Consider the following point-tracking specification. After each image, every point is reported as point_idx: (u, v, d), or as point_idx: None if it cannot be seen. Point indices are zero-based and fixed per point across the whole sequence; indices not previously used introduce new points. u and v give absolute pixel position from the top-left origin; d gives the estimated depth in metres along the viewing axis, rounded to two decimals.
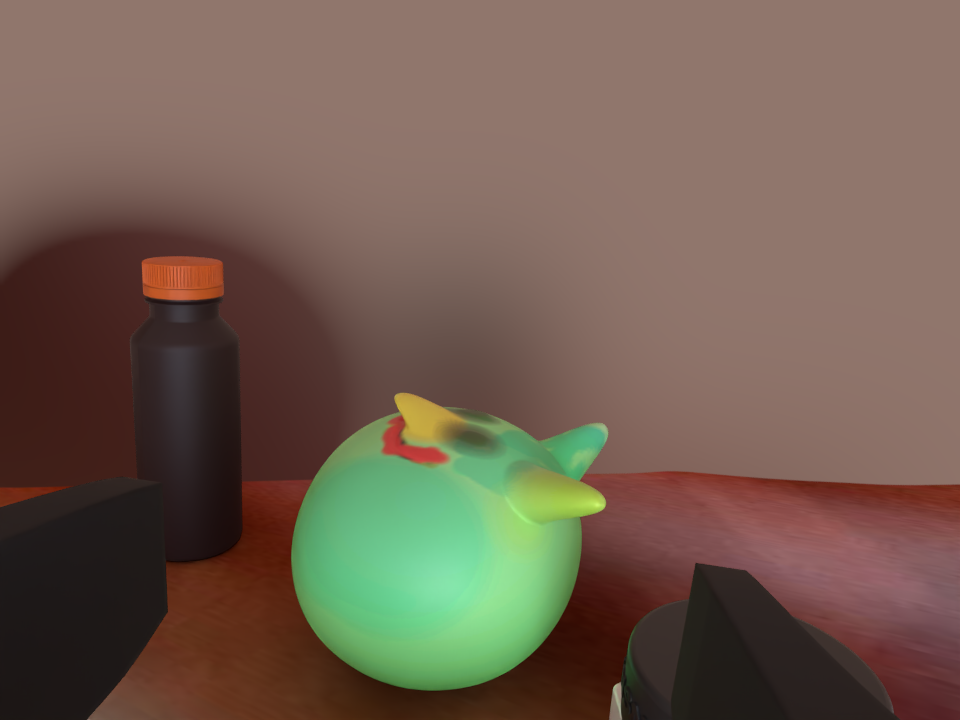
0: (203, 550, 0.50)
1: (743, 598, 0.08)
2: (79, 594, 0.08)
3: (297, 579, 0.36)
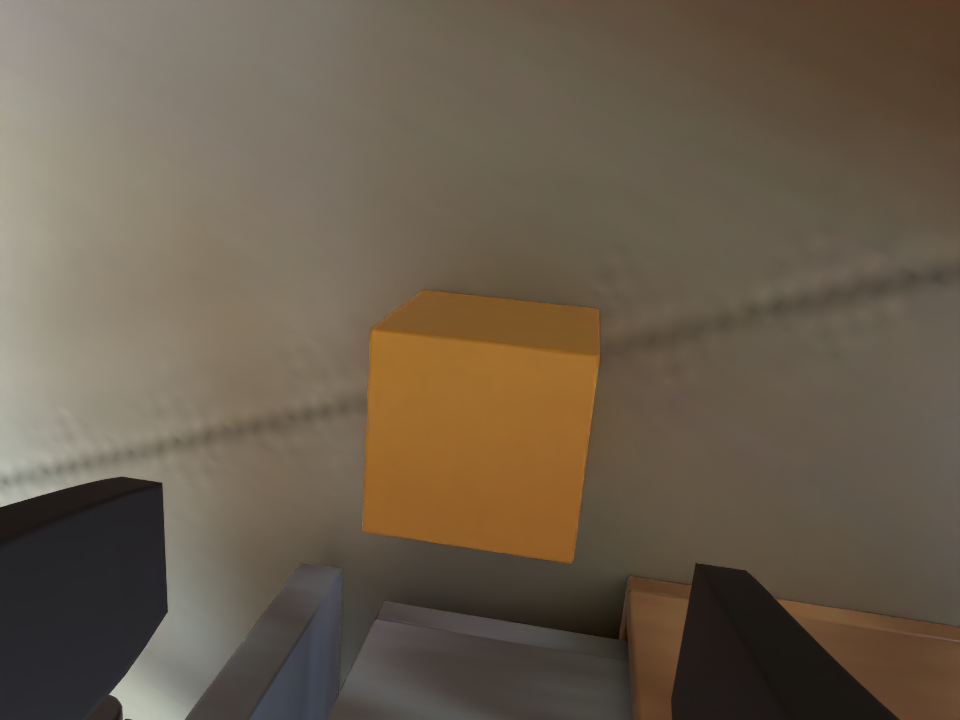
0: None
1: (744, 597, 0.08)
2: (79, 594, 0.08)
3: None
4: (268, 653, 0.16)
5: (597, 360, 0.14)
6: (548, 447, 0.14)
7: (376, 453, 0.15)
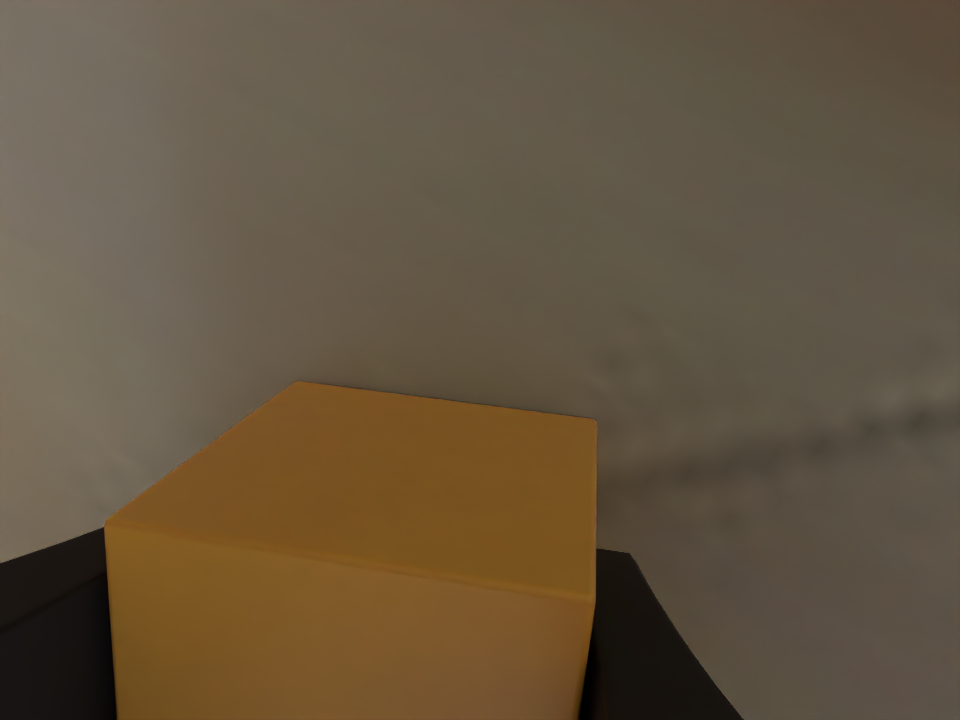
0: None
1: (611, 577, 0.08)
2: None
3: None
4: None
5: (589, 608, 0.06)
6: None
7: None
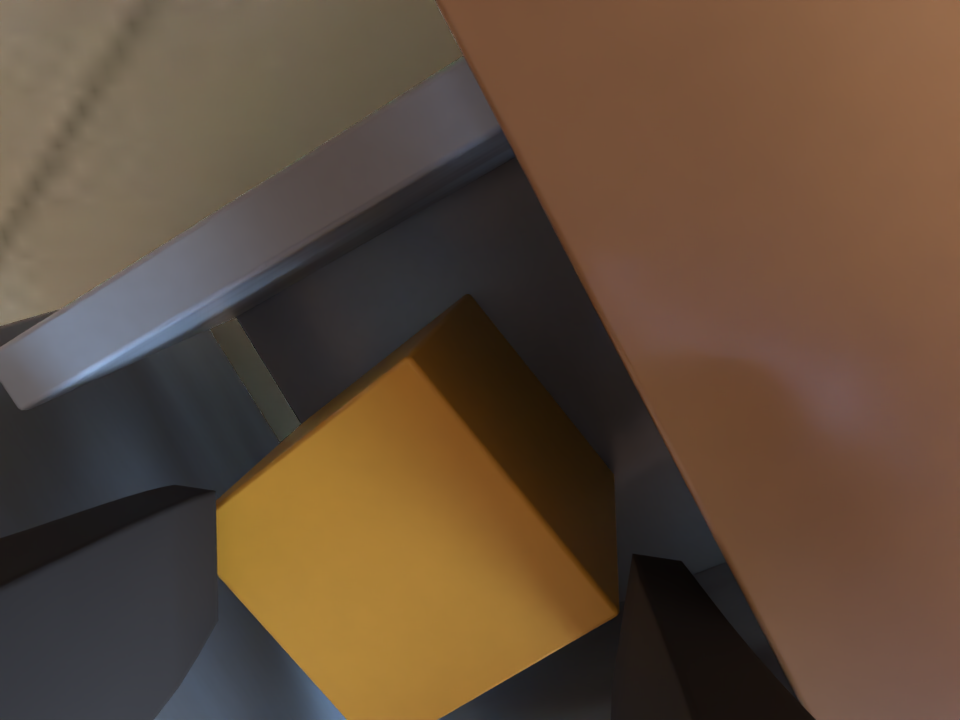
0: None
1: (670, 586, 0.08)
2: (140, 604, 0.08)
3: None
4: None
5: (612, 616, 0.10)
6: (471, 641, 0.10)
7: (278, 479, 0.10)
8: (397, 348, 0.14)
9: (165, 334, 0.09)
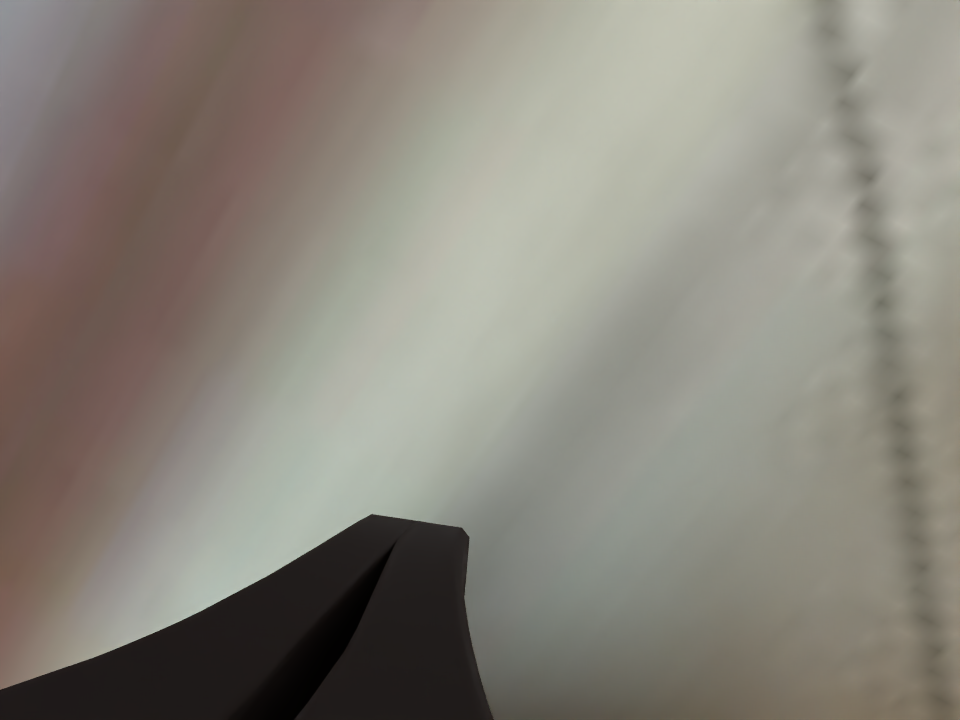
0: None
1: (421, 548, 0.08)
2: None
3: None
4: None
5: None
6: None
7: None
8: None
9: None
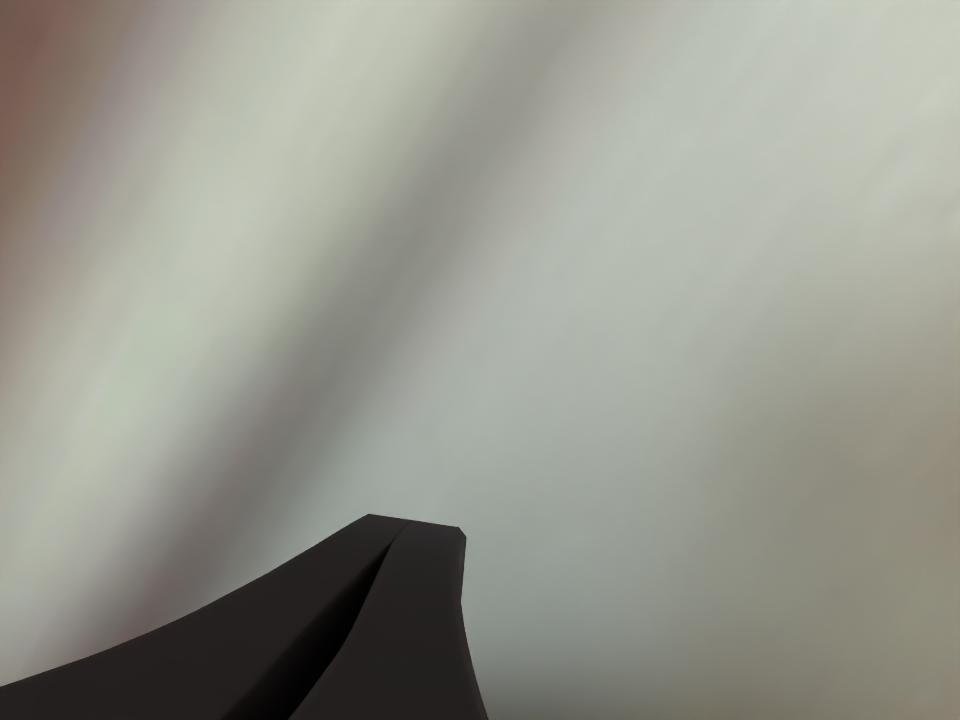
0: None
1: (419, 547, 0.08)
2: None
3: None
4: None
5: None
6: None
7: None
8: None
9: None
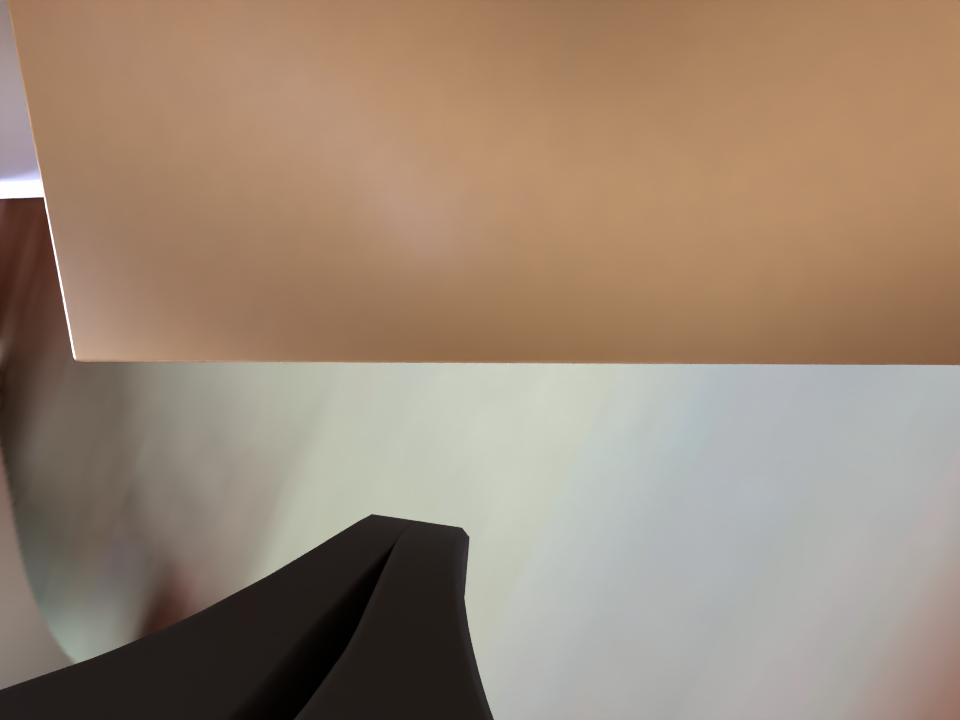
0: None
1: (421, 547, 0.08)
2: None
3: None
4: None
5: None
6: None
7: None
8: None
9: None
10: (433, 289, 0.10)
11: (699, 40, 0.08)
